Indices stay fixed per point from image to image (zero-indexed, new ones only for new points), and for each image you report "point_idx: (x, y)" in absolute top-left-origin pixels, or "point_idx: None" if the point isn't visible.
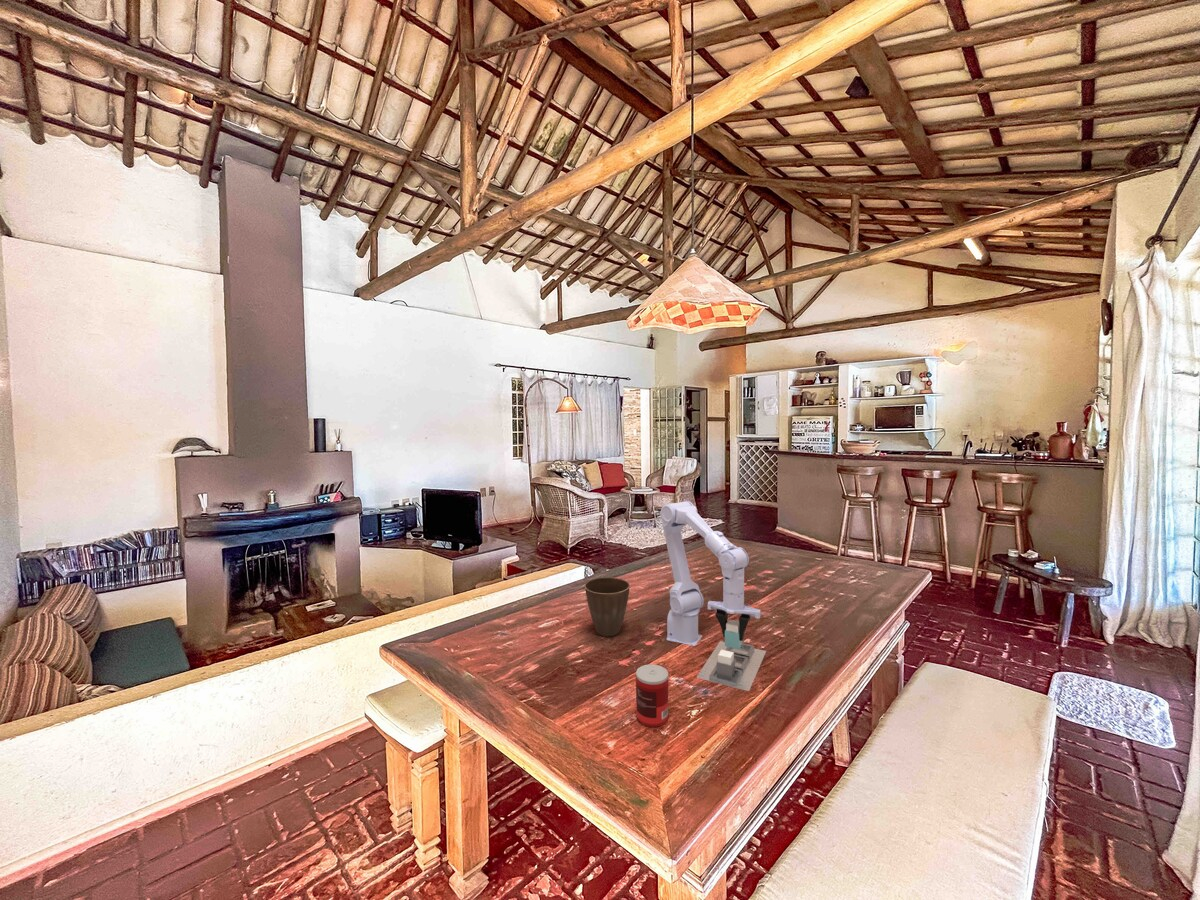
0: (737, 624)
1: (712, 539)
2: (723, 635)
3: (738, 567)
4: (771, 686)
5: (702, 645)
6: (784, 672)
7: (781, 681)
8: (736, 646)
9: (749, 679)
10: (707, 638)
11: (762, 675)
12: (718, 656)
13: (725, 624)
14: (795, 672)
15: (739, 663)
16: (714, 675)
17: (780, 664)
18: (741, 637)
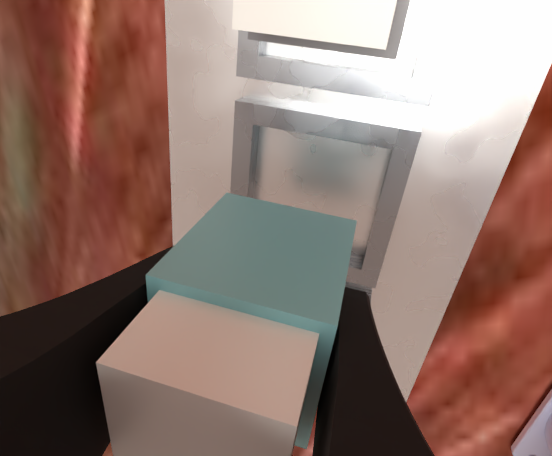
0: (124, 406)
1: None
2: (364, 301)
3: None
4: (75, 4)
5: (515, 371)
6: (69, 185)
7: (53, 88)
8: (240, 205)
9: (190, 12)
10: (476, 435)
11: (147, 120)
12: None
13: (324, 434)
14: (34, 199)
15: (277, 202)
16: None
17: (104, 252)
18: (152, 257)
